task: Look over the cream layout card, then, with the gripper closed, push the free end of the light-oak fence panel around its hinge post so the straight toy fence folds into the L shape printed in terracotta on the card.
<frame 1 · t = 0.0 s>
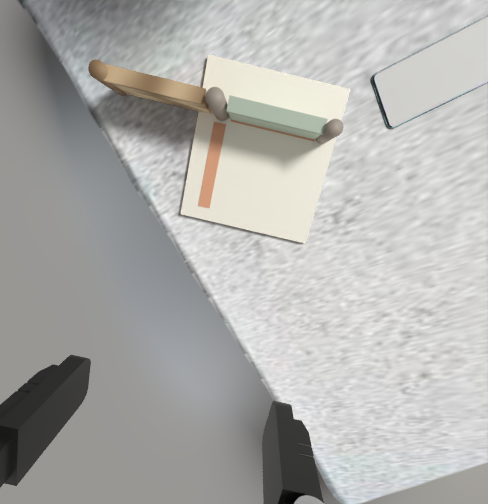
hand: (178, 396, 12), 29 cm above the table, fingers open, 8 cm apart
smartphone: (435, 76, 35), on the table
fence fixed: (222, 113, 36), resting on layout card
layout card: (260, 155, 37), on the table
fence gate: (155, 90, 32), point 4 cm above the table, hinge at 0.0°
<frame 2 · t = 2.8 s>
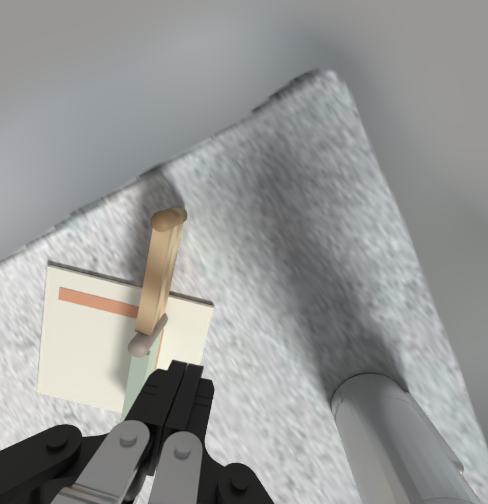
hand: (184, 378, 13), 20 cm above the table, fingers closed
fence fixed: (161, 315, 34), resting on layout card
layout card: (122, 350, 35), on the table
fence gate: (161, 268, 29), point 4 cm above the table, hinge at 0.0°
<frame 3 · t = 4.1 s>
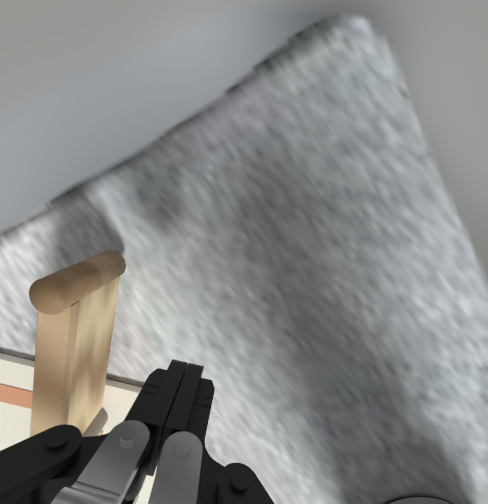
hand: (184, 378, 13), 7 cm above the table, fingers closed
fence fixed: (99, 409, 22), resting on layout card
layout card: (46, 455, 24), on the table
fence gate: (77, 358, 17), point 4 cm above the table, hinge at 0.0°
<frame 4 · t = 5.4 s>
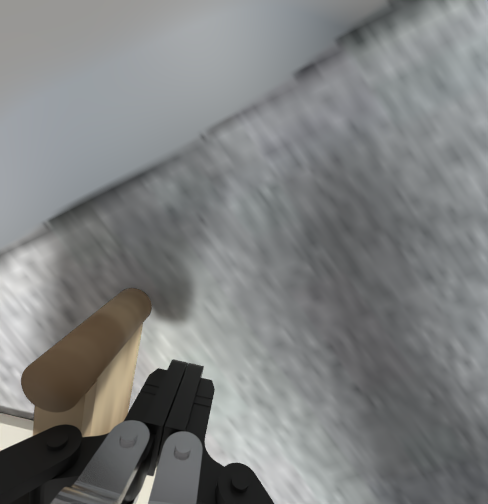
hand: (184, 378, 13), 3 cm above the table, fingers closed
fence gate: (89, 439, 12), point 4 cm above the table, hinge at 0.0°, touching gripper
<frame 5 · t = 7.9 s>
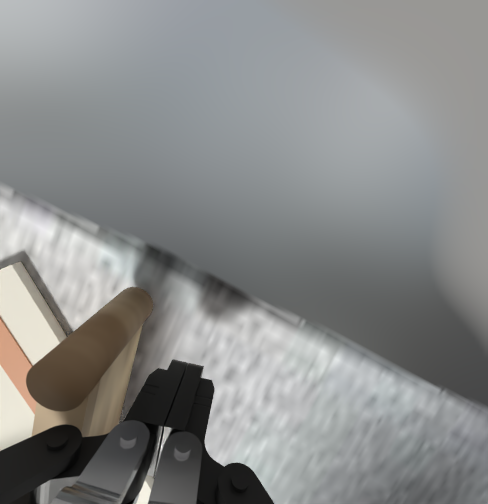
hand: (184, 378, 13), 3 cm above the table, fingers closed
fence gate: (84, 436, 12), point 4 cm above the table, hinge at 50.6°, touching gripper
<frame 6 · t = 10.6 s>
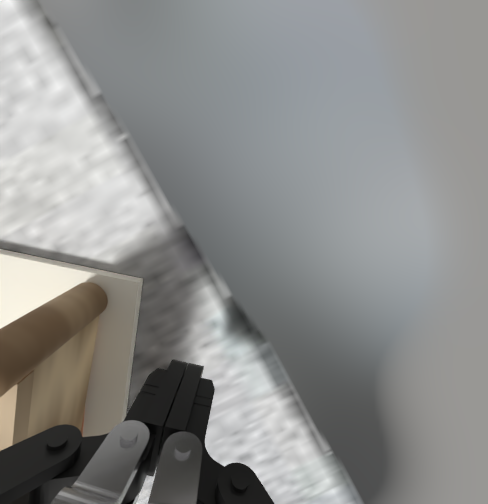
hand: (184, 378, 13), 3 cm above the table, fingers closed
fence gate: (36, 431, 12), point 4 cm above the table, hinge at 86.3°
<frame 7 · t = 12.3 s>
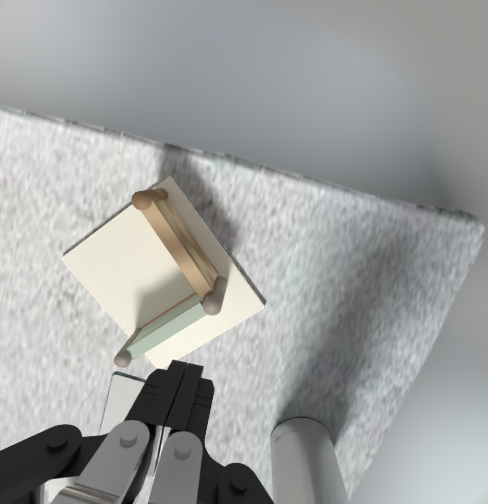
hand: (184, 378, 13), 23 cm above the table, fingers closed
smartphone: (128, 413, 43), on the table
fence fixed: (220, 281, 36), resting on layout card
layout card: (165, 281, 36), on the table
fence gate: (179, 240, 31), point 4 cm above the table, hinge at 86.3°
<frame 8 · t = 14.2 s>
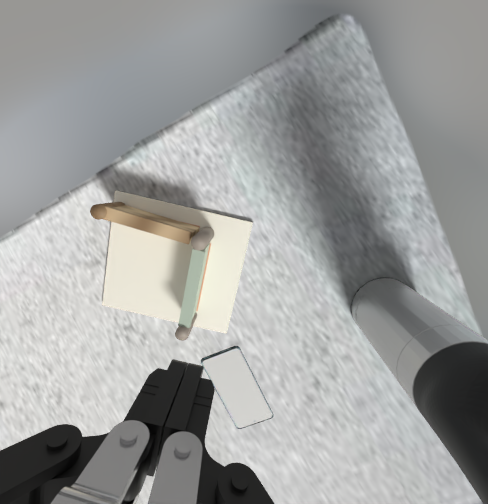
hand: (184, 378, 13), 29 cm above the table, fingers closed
smartphone: (238, 386, 48), on the table
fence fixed: (208, 232, 41), resting on layout card
layout card: (174, 264, 42), on the table
fence gate: (148, 221, 37), point 4 cm above the table, hinge at 86.3°
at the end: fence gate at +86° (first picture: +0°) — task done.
